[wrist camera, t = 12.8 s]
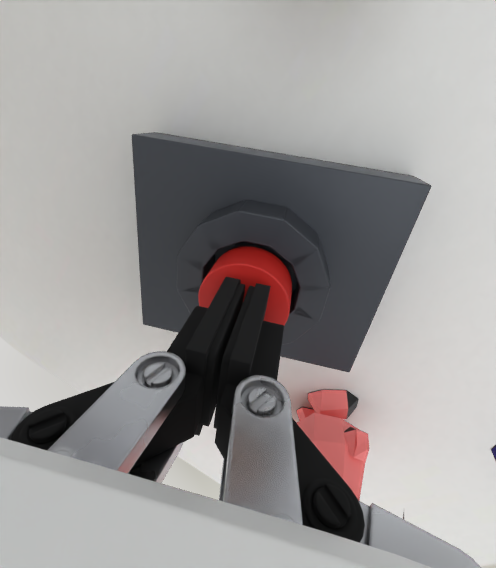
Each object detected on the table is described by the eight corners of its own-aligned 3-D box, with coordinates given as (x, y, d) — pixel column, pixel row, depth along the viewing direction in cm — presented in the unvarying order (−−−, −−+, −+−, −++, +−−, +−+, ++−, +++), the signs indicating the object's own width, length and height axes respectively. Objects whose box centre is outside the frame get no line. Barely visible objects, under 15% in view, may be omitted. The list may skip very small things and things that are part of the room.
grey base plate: (159, 304, 19) (125, 344, 16) (155, 132, 14) (104, 135, 10) (345, 346, 18) (353, 400, 14) (414, 175, 13) (452, 196, 9)
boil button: (208, 309, 14) (195, 332, 12) (214, 238, 12) (200, 254, 11) (283, 325, 14) (279, 351, 12) (300, 255, 12) (299, 275, 10)
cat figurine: (341, 451, 23) (367, 726, 12) (258, 419, 23) (216, 668, 12) (392, 396, 19) (490, 719, 9) (294, 358, 19) (277, 638, 9)
